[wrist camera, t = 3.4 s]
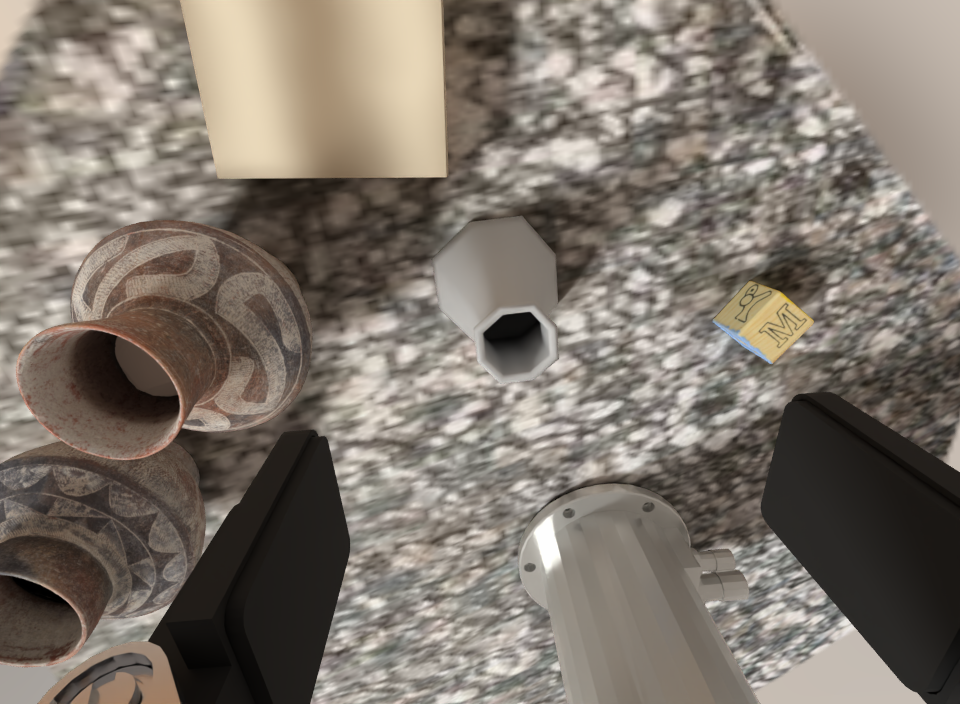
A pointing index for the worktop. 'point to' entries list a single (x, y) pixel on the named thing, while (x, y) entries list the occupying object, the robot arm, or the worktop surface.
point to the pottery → (136, 425)
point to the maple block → (321, 87)
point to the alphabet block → (763, 321)
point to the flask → (501, 295)
